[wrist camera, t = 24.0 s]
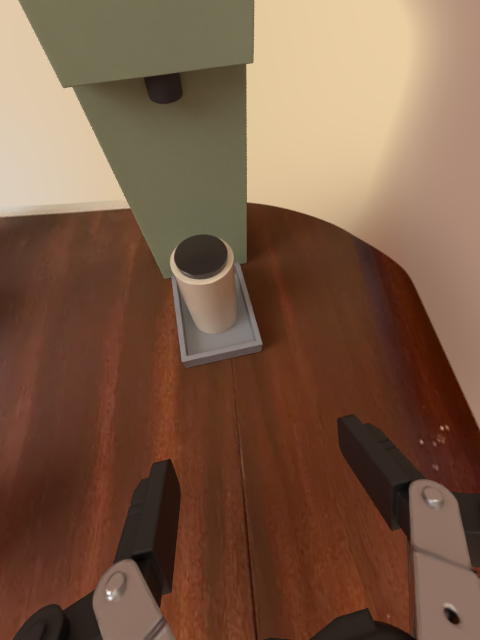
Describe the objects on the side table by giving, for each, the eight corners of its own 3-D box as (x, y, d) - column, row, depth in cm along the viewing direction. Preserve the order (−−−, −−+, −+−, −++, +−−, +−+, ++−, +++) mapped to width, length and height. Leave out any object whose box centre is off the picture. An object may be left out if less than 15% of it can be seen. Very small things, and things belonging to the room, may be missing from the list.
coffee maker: (236, 229, 40) (222, -73, 17) (273, 348, 31) (350, 39, 8) (160, 243, 39) (35, -57, 16) (174, 370, 30) (-78, 94, 7)
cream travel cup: (232, 290, 34) (226, 225, 24) (242, 328, 31) (239, 273, 21) (189, 299, 33) (165, 236, 24) (195, 338, 31) (171, 286, 21)
